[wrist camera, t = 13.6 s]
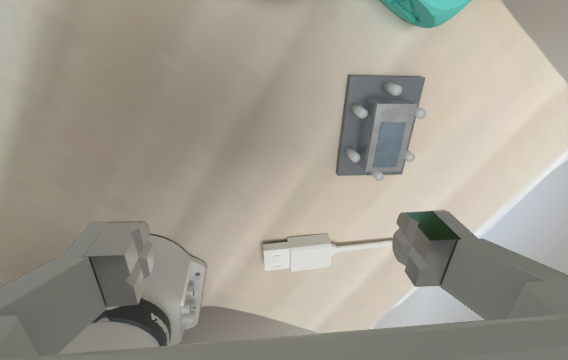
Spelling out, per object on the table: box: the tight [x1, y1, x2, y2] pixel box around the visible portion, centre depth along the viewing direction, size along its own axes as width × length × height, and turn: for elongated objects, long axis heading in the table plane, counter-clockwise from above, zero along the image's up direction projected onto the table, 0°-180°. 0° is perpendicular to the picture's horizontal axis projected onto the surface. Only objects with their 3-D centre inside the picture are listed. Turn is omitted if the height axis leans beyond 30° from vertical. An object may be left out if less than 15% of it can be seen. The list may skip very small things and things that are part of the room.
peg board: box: [336, 75, 426, 181], centre depth 40 cm, size 14×10×4 cm
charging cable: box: [263, 234, 392, 272], centre depth 50 cm, size 5×32×3 cm, turn 90°
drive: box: [357, 97, 417, 172], centre depth 39 cm, size 9×5×4 cm, turn 178°
